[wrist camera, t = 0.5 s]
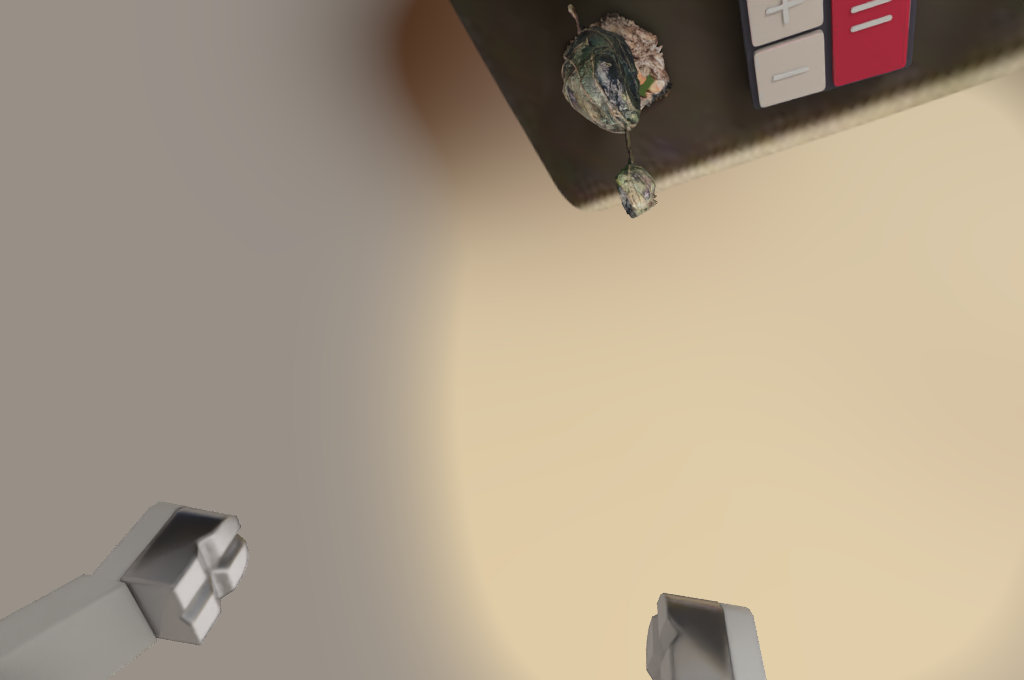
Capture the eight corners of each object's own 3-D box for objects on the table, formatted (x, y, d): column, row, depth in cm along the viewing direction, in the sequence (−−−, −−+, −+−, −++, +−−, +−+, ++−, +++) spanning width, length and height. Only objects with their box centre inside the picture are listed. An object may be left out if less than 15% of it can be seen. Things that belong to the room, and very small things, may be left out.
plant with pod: (640, -38, 43) (628, 91, 30) (678, 97, 50) (680, 247, 38) (543, 7, 46) (496, 140, 34) (591, 128, 54) (567, 273, 41)
